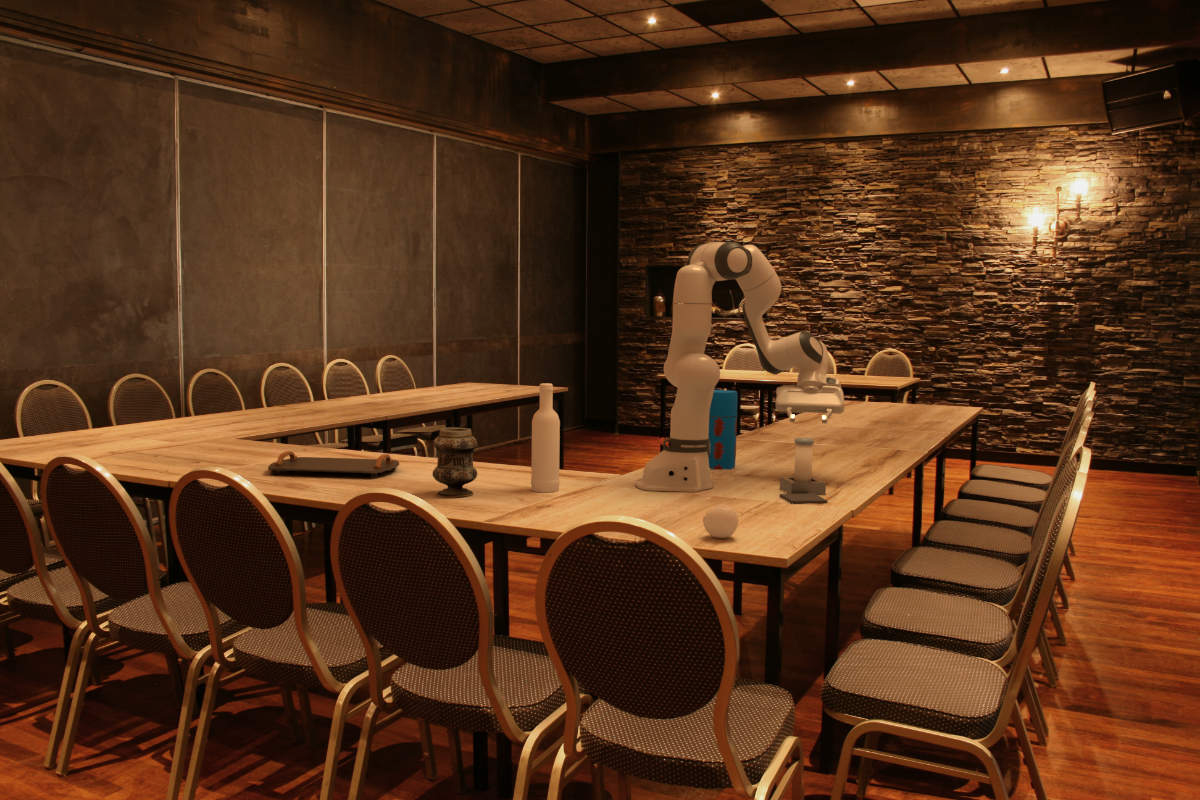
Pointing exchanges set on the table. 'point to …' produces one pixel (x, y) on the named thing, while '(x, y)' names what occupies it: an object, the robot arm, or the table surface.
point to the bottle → (545, 444)
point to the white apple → (721, 521)
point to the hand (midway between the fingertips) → (808, 421)
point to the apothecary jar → (455, 461)
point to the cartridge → (803, 459)
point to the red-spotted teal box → (723, 429)
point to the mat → (803, 498)
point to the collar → (803, 486)
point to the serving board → (333, 464)
